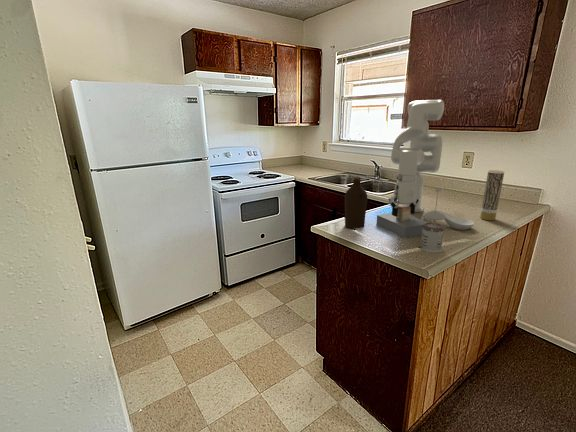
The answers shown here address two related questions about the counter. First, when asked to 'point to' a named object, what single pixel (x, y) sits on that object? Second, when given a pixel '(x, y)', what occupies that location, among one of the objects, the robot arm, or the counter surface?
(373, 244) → the counter surface
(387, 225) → the socket block
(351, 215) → the olive oil
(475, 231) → the counter surface
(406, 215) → the plug
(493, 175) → the paper tube
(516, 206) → the counter surface
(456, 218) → the spoon rest
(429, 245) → the french press
